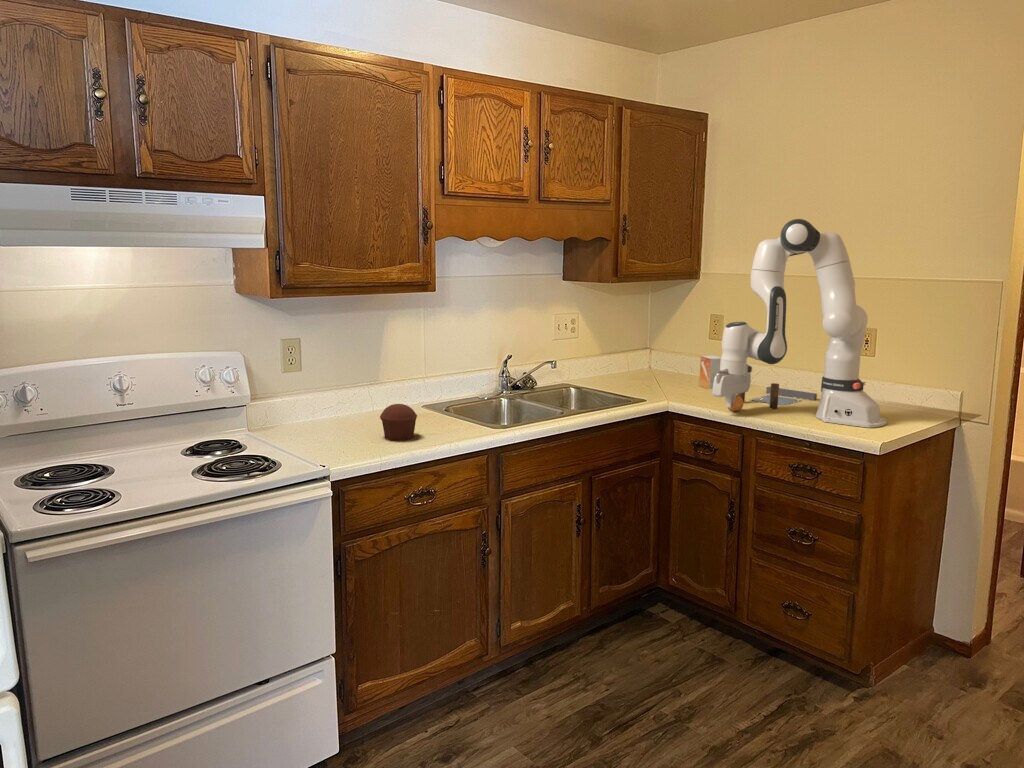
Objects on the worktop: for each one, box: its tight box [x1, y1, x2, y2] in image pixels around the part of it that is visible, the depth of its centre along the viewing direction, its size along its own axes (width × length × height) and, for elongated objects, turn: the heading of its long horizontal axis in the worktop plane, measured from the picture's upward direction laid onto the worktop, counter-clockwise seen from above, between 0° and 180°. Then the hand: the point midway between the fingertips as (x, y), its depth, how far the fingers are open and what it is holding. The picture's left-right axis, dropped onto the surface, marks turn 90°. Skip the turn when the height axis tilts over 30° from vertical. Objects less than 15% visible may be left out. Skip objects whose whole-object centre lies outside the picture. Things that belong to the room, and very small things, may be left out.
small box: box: [698, 355, 721, 390], centre depth 323 cm, size 8×6×13 cm
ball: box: [726, 394, 744, 412], centre depth 277 cm, size 6×6×6 cm
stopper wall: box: [765, 386, 818, 401], centre depth 305 cm, size 20×2×2 cm, turn 43°
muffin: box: [379, 403, 418, 442], centre depth 236 cm, size 12×11×10 cm
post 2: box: [768, 382, 780, 410], centre depth 283 cm, size 3×3×9 cm
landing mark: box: [749, 394, 803, 406], centre depth 298 cm, size 14×14×1 cm
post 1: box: [736, 392, 746, 404], centre depth 292 cm, size 3×3×9 cm
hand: (729, 406), depth 275 cm, fingers closed
